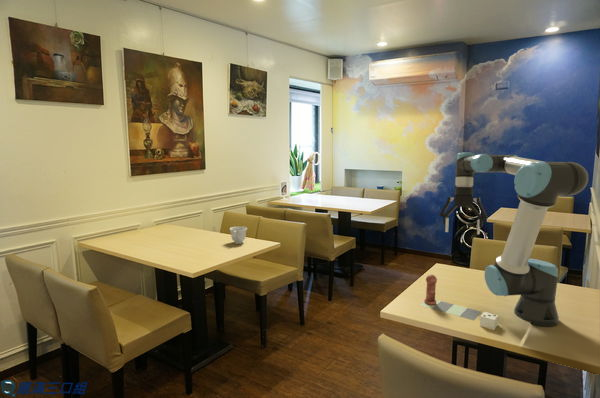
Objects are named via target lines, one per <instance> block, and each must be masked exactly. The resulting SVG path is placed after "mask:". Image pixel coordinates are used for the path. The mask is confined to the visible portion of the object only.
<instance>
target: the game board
mask: <svg viewBox="0 0 600 398" xmlns="http://www.w3.org/2000/svg"><path fill="white" fill-rule="evenodd" d="M435 300H436V305H427V304H425V303H424V301H422V303H420V304H419V306H421V307H425V308H428V309H432V310H436V311H438V312H442V313H446V314H450V315H453V316H458V317H460V318H464V319H467V320H472V321H475V320H476V319H477V318H478V317H479V316H480V315H481V314H482V311H480V310H477V309H474V308H473V309H472V308H468V307H466V306H461V305H458V304H453V303H450V302H445V301H443V300H439V299H435Z"/></svg>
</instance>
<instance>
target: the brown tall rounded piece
mask: <svg viewBox="0 0 600 398" xmlns="http://www.w3.org/2000/svg"><path fill="white" fill-rule="evenodd" d="M425 282H426V291H425V292H426V293H425V294H426V295H425V298H424V299H423V300H424V301H423V302H424V303H425V304H427V305H436V300H437V299H436V284H437V282H438V278H437V277H436V275H434V274H428V275H427V276H426V278H425Z"/></svg>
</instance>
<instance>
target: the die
mask: <svg viewBox="0 0 600 398" xmlns="http://www.w3.org/2000/svg"><path fill="white" fill-rule="evenodd" d="M479 316H480V317H479V327H482V328H485V329H489V330H493V331H495V330H496V328H497V327H498V324H499V315H498V314H494V313H491V312H487V311H483V312H482V313H481V314H480V315H479Z"/></svg>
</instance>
